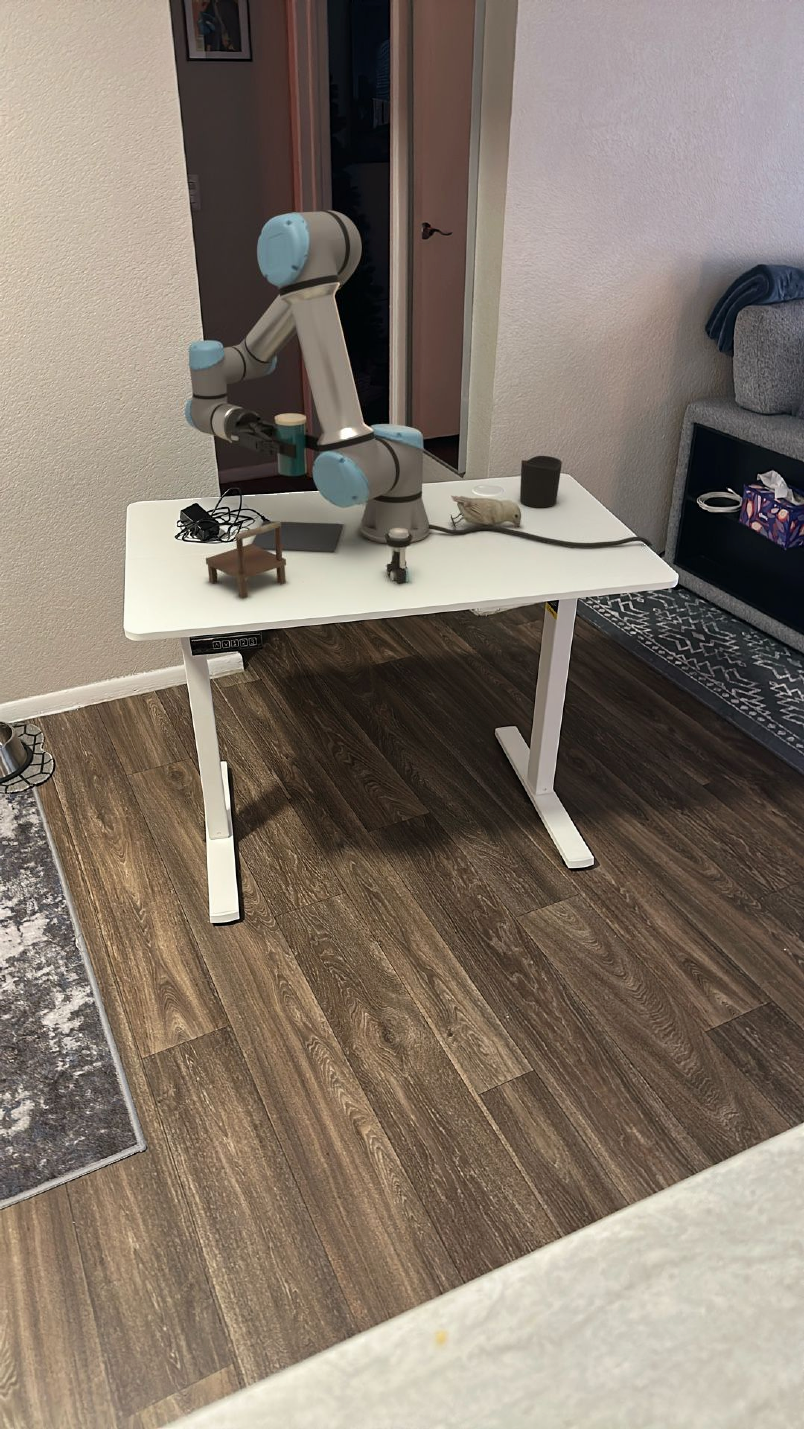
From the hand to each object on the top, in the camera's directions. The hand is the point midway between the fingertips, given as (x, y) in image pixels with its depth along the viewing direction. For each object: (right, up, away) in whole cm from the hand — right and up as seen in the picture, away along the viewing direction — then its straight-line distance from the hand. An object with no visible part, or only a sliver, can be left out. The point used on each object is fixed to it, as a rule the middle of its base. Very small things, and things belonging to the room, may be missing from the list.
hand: (307, 448), depth 193 cm
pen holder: (+52, -3, +36) cm, 63 cm away
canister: (-4, -3, +6) cm, 8 cm away
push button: (+18, -27, -3) cm, 33 cm away
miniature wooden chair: (-11, -28, -6) cm, 31 cm away
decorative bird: (+38, -12, +21) cm, 45 cm away
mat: (-4, -15, +14) cm, 21 cm away
